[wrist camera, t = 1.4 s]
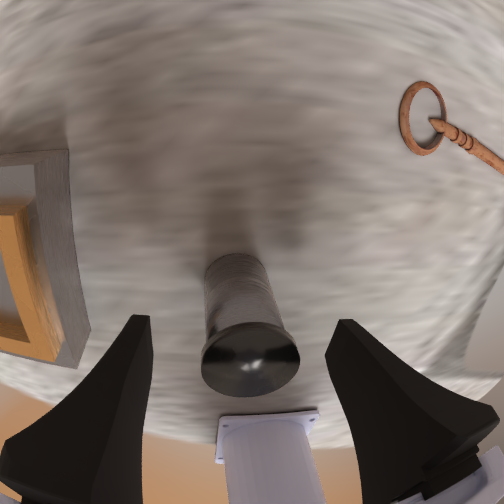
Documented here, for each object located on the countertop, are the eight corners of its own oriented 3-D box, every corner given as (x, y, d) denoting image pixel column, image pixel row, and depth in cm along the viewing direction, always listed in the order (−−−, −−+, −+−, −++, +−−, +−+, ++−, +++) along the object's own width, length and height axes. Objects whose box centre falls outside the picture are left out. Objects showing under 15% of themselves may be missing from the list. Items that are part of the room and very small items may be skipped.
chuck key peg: (264, 309, 16) (288, 395, 11) (199, 307, 15) (200, 397, 10) (275, 252, 14) (310, 333, 9) (202, 247, 14) (202, 333, 9)
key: (534, 143, 14) (406, 40, 10) (542, 146, 13) (417, 37, 9) (520, 211, 16) (388, 143, 12) (528, 215, 15) (399, 145, 12)
